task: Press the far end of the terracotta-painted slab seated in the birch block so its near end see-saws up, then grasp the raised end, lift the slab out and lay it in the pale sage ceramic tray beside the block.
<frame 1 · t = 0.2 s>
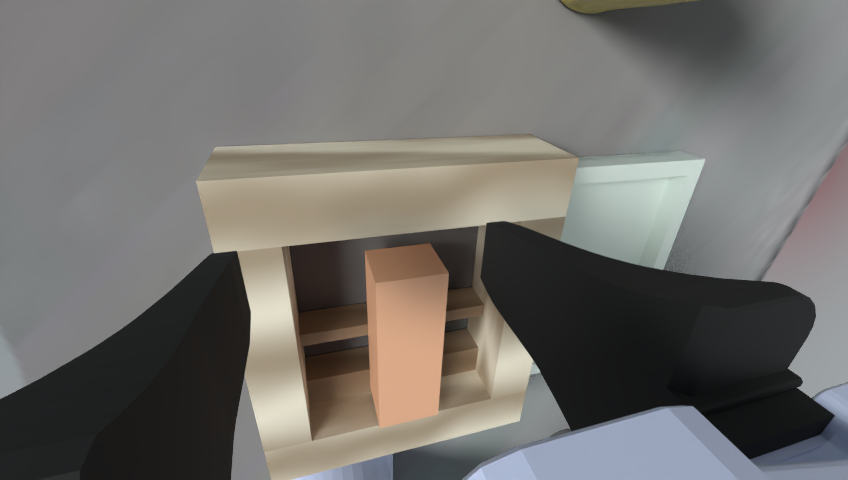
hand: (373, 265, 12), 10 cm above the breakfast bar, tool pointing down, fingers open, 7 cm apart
tray: (582, 265, 28), on the breakfast bar
slab: (397, 321, 23), point 2 cm above the breakfast bar, touching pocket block
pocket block: (390, 293, 25), on the breakfast bar
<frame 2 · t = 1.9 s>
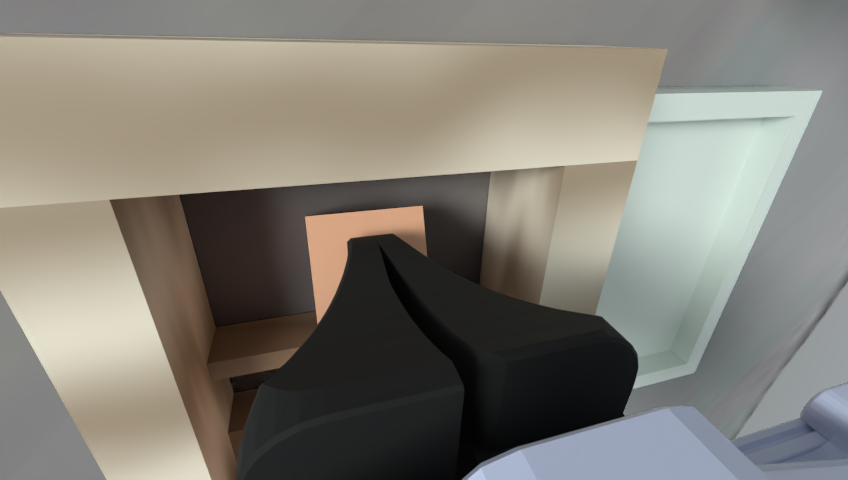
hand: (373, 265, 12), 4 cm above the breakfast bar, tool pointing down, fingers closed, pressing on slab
tray: (632, 253, 20), on the breakfast bar
slab: (369, 343, 15), point 2 cm above the breakfast bar, tilted 23°, touching gripper, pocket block
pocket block: (358, 295, 17), on the breakfast bar
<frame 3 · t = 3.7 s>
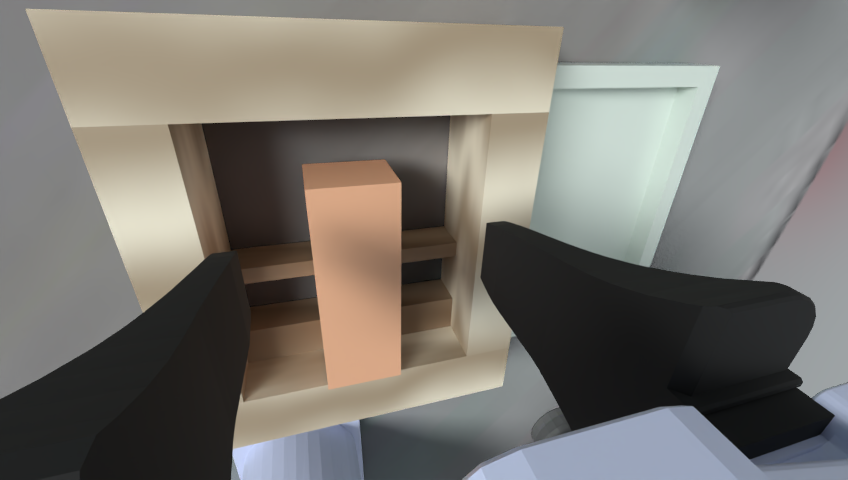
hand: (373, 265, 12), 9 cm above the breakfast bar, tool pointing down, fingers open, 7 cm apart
tray: (575, 205, 24), on the breakfast bar
slab: (351, 261, 19), point 2 cm above the breakfast bar, touching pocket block
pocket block: (344, 229, 21), on the breakfast bar
beverage cup: (552, 423, 35), on the breakfast bar
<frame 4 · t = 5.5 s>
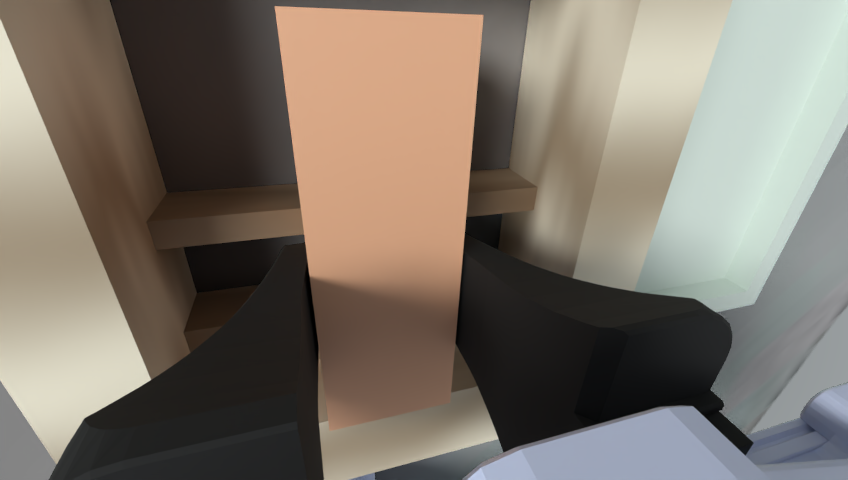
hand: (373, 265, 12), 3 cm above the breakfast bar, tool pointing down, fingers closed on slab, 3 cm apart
tray: (694, 144, 16), on the breakfast bar
slab: (367, 213, 11), point 2 cm above the breakfast bar, touching gripper, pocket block
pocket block: (356, 165, 13), on the breakfast bar
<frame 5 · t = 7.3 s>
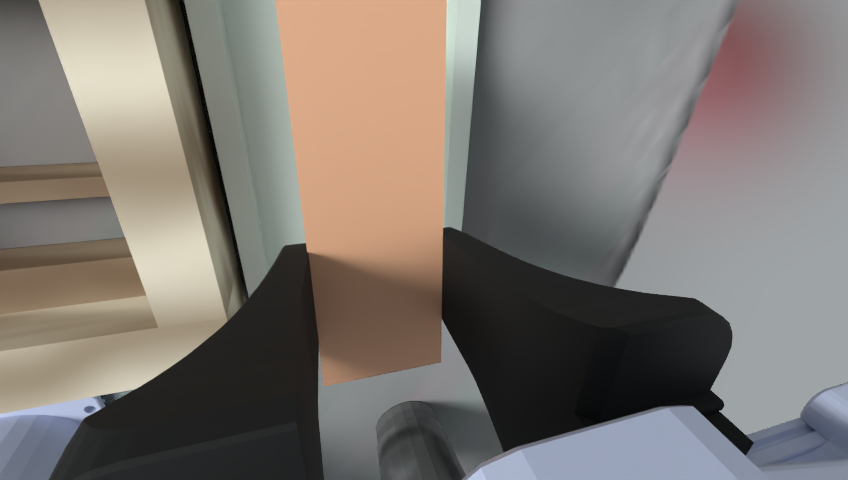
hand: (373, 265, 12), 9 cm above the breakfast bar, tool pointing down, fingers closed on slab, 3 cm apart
tray: (348, 140, 19), on the breakfast bar
slab: (359, 183, 12), point 7 cm above the breakfast bar, tilted 6°, touching gripper
beverage cup: (404, 420, 30), on the breakfast bar
when the fingers open (3 cm above the breakfast bar, at t = 9.0 s): slab stays where it is, resting on tray.
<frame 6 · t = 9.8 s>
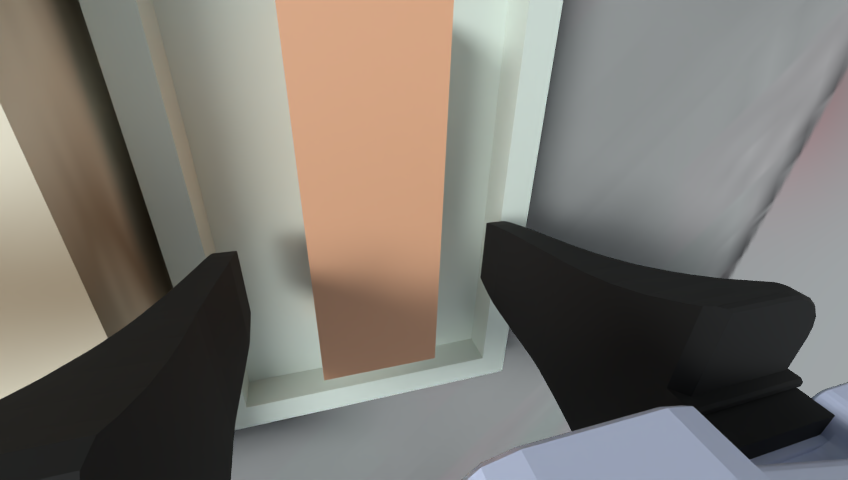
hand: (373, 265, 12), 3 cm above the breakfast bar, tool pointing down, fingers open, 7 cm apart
tray: (357, 190, 13), on the breakfast bar
slab: (359, 184, 13), point 1 cm above the breakfast bar, touching tray
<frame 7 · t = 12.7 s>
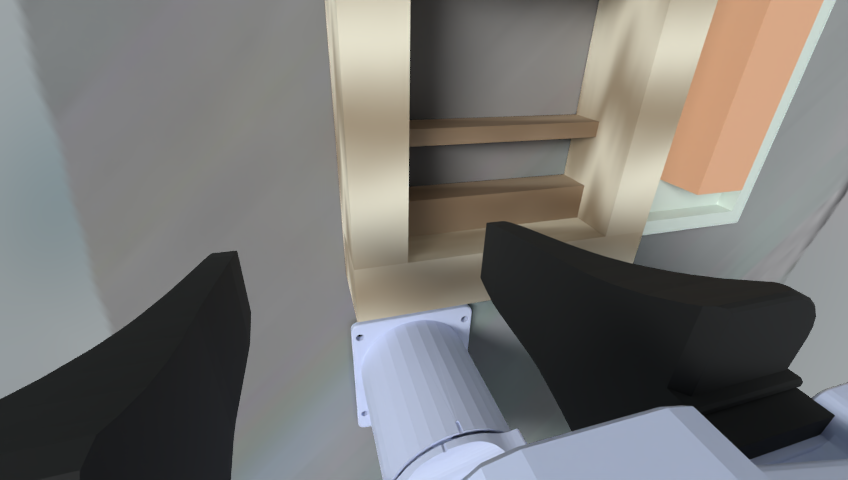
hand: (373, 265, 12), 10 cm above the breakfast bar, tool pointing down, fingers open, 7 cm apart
tray: (694, 102, 25), on the breakfast bar
slab: (706, 96, 24), point 1 cm above the breakfast bar, touching tray
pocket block: (488, 108, 21), on the breakfast bar
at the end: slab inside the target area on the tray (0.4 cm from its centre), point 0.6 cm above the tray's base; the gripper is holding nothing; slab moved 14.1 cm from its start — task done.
